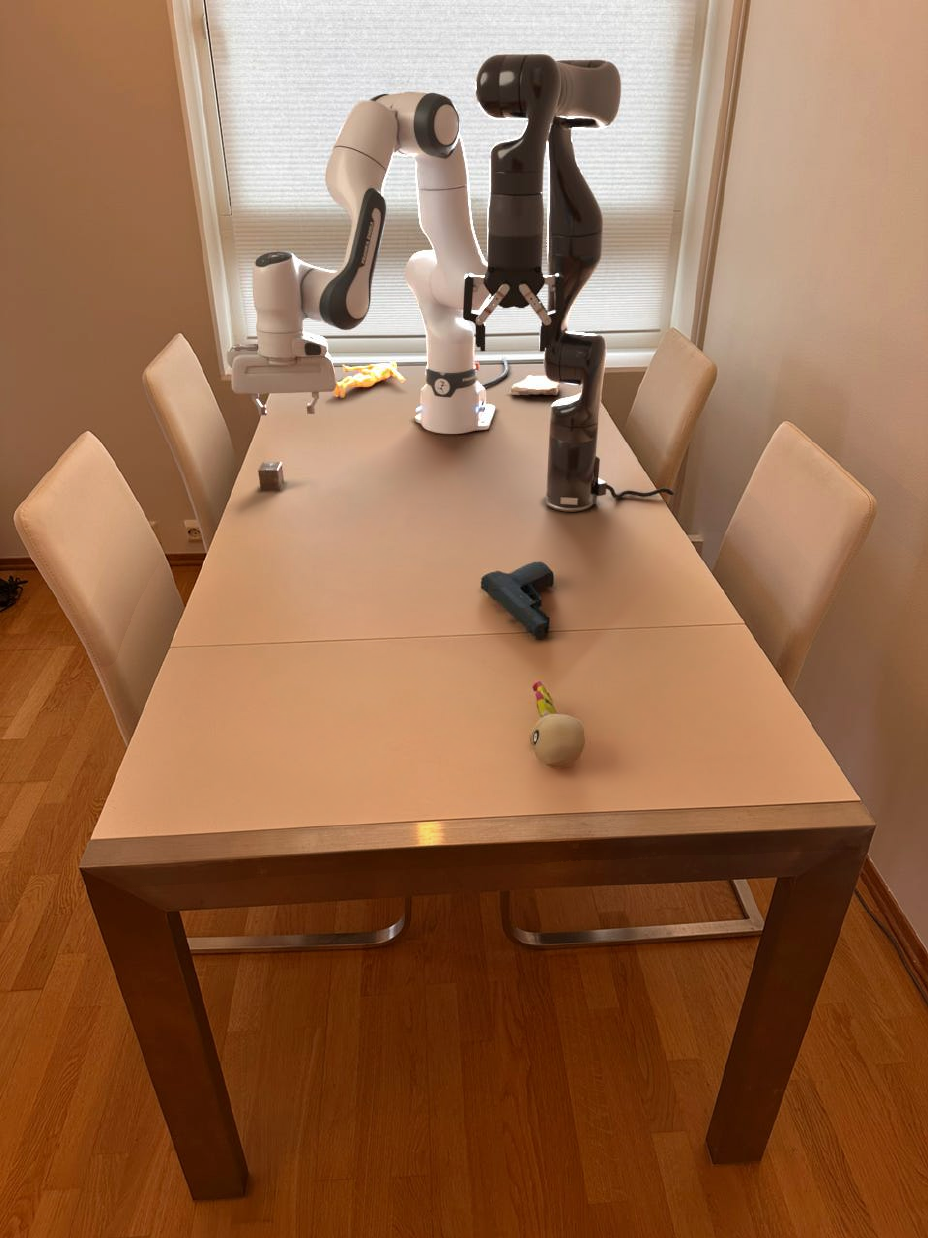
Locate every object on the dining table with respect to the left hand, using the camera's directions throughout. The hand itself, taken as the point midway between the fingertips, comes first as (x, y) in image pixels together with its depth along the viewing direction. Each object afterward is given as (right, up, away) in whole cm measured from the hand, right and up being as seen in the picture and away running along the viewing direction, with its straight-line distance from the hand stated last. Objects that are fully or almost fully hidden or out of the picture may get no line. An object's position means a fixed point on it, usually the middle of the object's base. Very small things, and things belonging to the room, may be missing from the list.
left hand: (287, 413), depth 178 cm
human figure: (+9, +23, +65) cm, 70 cm away
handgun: (+47, -39, -34) cm, 70 cm away
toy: (+47, -57, -62) cm, 96 cm away
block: (-4, -14, +7) cm, 16 cm away
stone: (+54, +20, +60) cm, 83 cm away
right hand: (+42, -2, -49) cm, 65 cm away
